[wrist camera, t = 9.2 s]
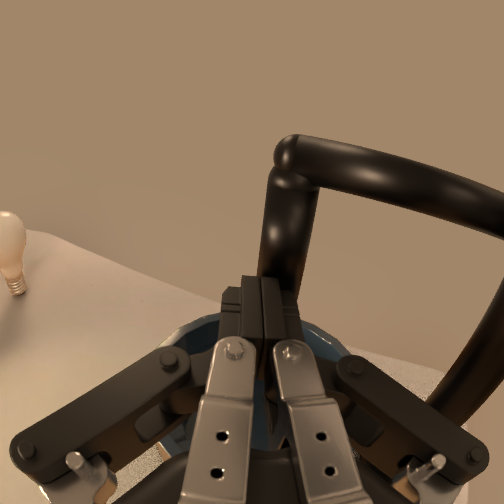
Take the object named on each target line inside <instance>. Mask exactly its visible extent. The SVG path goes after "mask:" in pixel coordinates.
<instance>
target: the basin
mask: <svg viewBox="0 0 504 504" xmlns="http://www.w3.org/2000/svg"><path fill="white" fill-rule="evenodd" d="M219 322H220V313H216V314H212V315H207V316H203V317H201V318H199V319H197V320H195V321H193V322H191V323H189V324H187V325H184V326H182V327H180V328H179V329H177V330H176V331H175V332H173V333H172V334H171V335H170V336H169V337H168V338H167V339H166V340H165V341H163V342H162V343H161V344H160V345H159V346H158V347H157V348H160V347H163V346H176V347H179V348H182V349H183V350H185V351H186V352H187V353H188V354H189V355H192V354H199V353H203V352H206V351H208V350H210V349H211V348H212V347H213V346H214V345H215V344H216V342H217V339H218V331H219ZM301 324H302V329H303V334H304V339H305V343H306V344H307V345H308V346H309V347H310V348H311V350H312V352H313V354H314V355H316V356H318V357H320V358H323V359H326V360H330V361H334V362H338V360H339V359H340V358H342V357H344V356H346V355H352V354H351V353H350V352H349V351H348V350H347V349H346V348H345V347H344V346H343V345H342V344H341V343H340V342H339V341H338V340H337V339H336V338H334V337H333V336H331V335H330V334H328V333H326V332H325V331H323V330H322V329H320V328H319V327H317V326H316V325H314V324H311V323H308V322H306V321H303V320H301ZM263 392H264V380H257V375H256V380H254V389H253V401H254V406H253V420H252V433H251V446H250V448H253V449H257V450H262V451H267V452H268V434H267V427H266V420H265V413H264V406H263V397H262V396H263ZM197 413H198V412H193V414H192V415H191V416H190V417H189V418H188V419H186V420H185V421H184V422H183V423H181V424H180V425H179V426H178V427H176V428H175V429H174V430H173V431H171V432H170V433H169V434H168V435H166V436H165V437H164V438H162V439H161V440H160V441H158V442H157V443H156V446H157V448H158V450H159V452H160V455H161V457H162V459H163V461H164V462H165V461H166V460H168V459H169V458H171V457H173V456H175V455H177V454H179V453H182V452H185V451H189V450H190V446H191V442H192V437H193V432H194V427H195V422H196V418H197ZM351 448H352V447H351ZM352 451H354V449H353V448H352Z"/></svg>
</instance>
